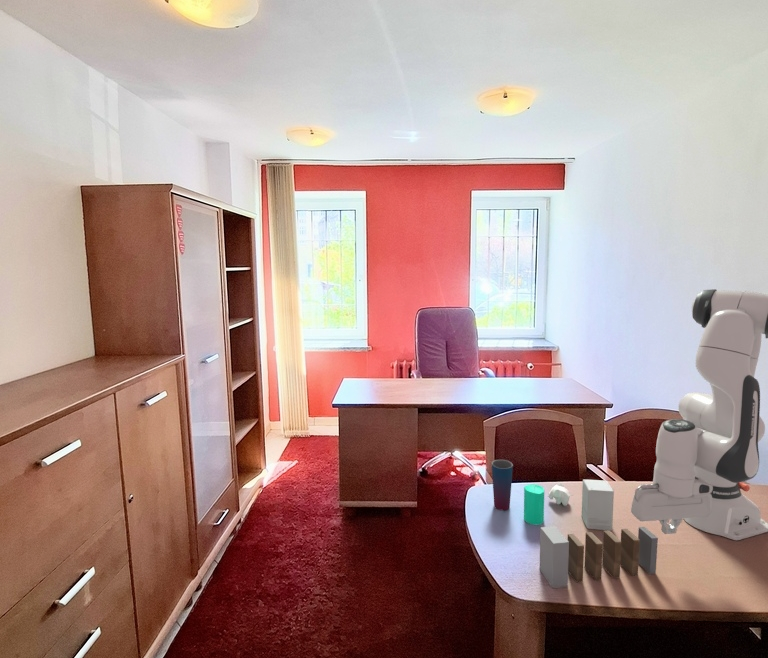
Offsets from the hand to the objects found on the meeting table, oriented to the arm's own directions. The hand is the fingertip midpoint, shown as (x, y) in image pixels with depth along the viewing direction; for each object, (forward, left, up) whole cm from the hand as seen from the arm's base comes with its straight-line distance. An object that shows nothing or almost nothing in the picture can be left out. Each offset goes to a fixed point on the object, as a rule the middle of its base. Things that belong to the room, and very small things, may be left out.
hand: (668, 532), depth 117 cm
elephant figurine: (+12, -34, -10) cm, 37 cm away
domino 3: (+16, 0, -10) cm, 18 cm away
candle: (+25, -26, -10) cm, 37 cm away
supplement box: (+7, -21, -10) cm, 24 cm away
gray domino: (+6, 0, -10) cm, 11 cm away
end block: (+31, 0, -10) cm, 33 cm away
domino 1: (+26, 0, -10) cm, 27 cm away
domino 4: (+11, 0, -10) cm, 14 cm away
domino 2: (+21, 0, -10) cm, 23 cm away
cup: (+32, -35, -10) cm, 48 cm away
